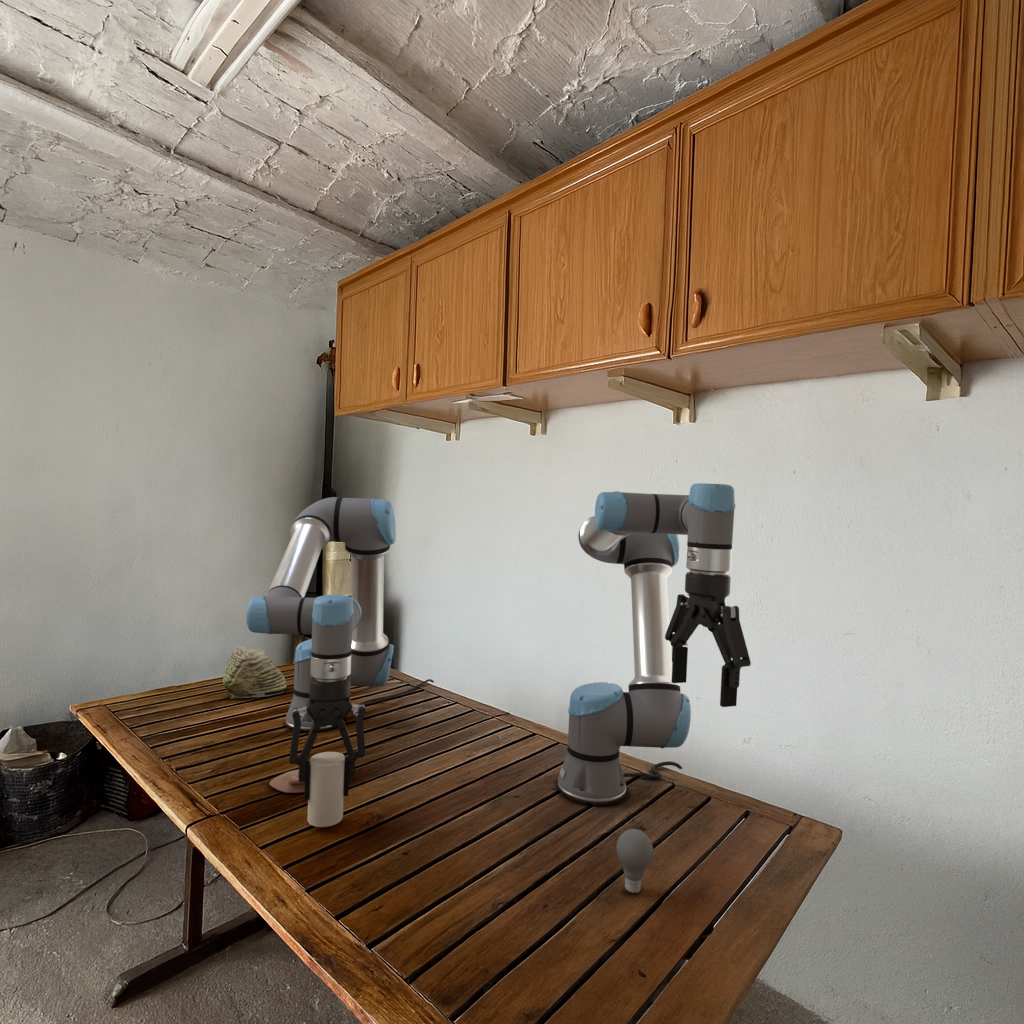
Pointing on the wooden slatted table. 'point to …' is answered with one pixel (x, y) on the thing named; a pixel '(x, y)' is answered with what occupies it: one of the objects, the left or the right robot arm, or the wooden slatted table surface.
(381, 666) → the left robot arm
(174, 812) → the wooden slatted table surface
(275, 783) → the anatomical model
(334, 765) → the canister
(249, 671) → the fossil
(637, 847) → the light bulb
